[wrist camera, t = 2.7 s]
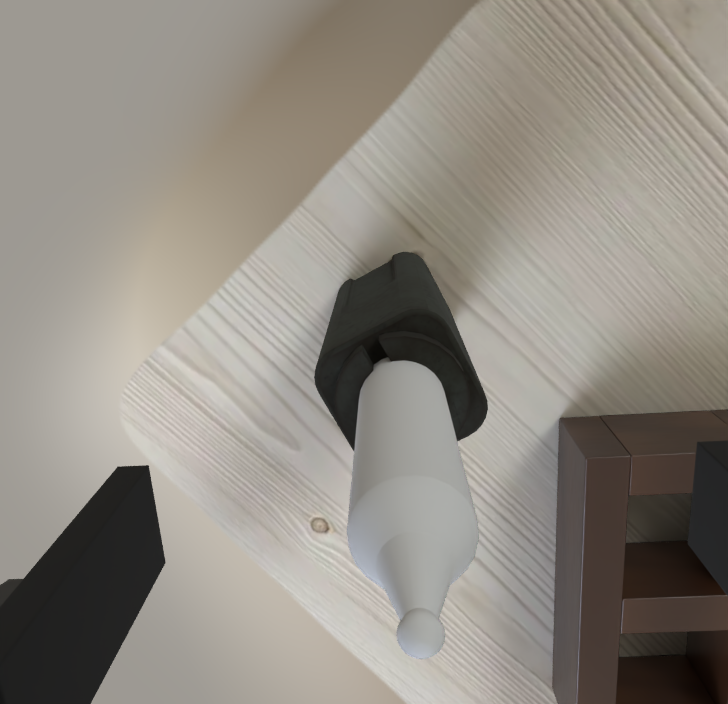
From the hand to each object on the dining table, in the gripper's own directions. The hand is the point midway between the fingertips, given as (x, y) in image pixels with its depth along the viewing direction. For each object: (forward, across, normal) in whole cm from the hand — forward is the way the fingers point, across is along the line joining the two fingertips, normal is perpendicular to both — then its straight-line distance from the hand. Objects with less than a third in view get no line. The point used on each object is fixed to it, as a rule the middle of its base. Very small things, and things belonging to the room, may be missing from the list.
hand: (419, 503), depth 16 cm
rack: (+20, +14, -16) cm, 29 cm away
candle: (+20, 0, 0) cm, 20 cm away
